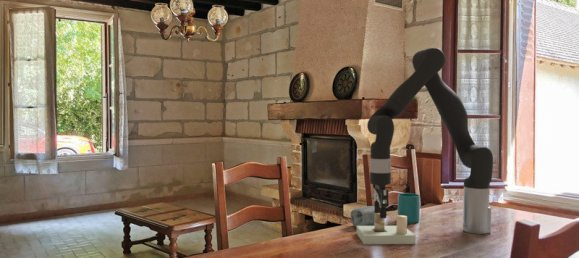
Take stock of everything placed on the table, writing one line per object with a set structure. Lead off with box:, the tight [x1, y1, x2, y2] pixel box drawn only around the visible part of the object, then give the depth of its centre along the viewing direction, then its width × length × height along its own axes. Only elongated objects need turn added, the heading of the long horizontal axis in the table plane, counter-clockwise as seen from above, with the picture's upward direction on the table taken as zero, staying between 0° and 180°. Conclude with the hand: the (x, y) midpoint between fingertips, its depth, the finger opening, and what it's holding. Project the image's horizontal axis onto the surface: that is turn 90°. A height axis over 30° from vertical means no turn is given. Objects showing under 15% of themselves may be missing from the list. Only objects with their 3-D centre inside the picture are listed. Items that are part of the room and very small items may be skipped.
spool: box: [350, 205, 375, 229], centre depth 186 cm, size 14×10×10 cm
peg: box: [374, 213, 386, 232], centre depth 168 cm, size 4×4×9 cm
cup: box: [397, 192, 421, 224], centre depth 197 cm, size 9×12×11 cm
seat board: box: [356, 214, 416, 245], centre depth 168 cm, size 18×14×9 cm
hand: (380, 215), depth 168 cm, fingers open, 8 cm apart
